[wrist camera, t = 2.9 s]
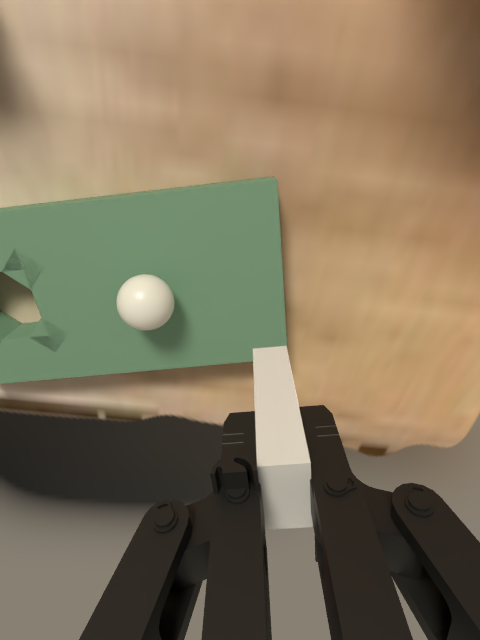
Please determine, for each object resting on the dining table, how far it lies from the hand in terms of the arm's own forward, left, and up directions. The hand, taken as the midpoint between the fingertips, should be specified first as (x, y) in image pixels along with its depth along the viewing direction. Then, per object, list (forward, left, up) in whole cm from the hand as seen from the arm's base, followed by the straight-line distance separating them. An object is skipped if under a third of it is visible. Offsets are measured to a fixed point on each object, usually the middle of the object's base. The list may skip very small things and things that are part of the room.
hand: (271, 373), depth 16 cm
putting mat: (-12, 0, -15) cm, 19 cm away
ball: (-8, 0, -10) cm, 13 cm away
